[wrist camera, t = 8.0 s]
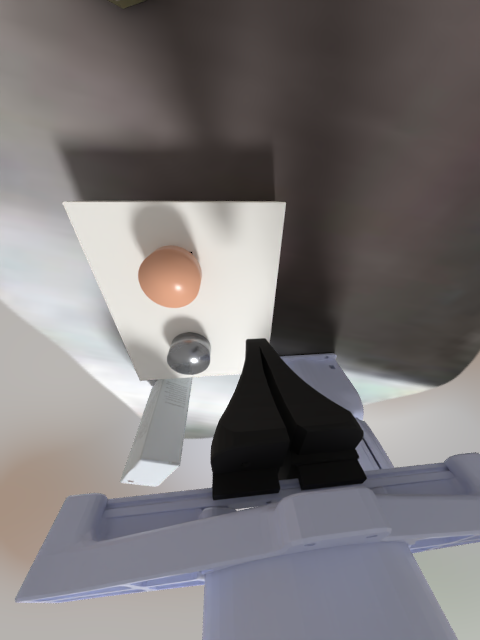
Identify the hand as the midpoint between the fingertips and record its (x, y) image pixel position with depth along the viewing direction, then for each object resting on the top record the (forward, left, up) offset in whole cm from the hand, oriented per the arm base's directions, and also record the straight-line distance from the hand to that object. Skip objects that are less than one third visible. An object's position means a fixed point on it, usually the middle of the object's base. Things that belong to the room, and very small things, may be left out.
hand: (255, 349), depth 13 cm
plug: (+6, +5, -10) cm, 13 cm away
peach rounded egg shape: (+6, -4, -9) cm, 12 cm away
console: (+5, +1, -10) cm, 12 cm away
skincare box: (+11, +15, -11) cm, 21 cm away
